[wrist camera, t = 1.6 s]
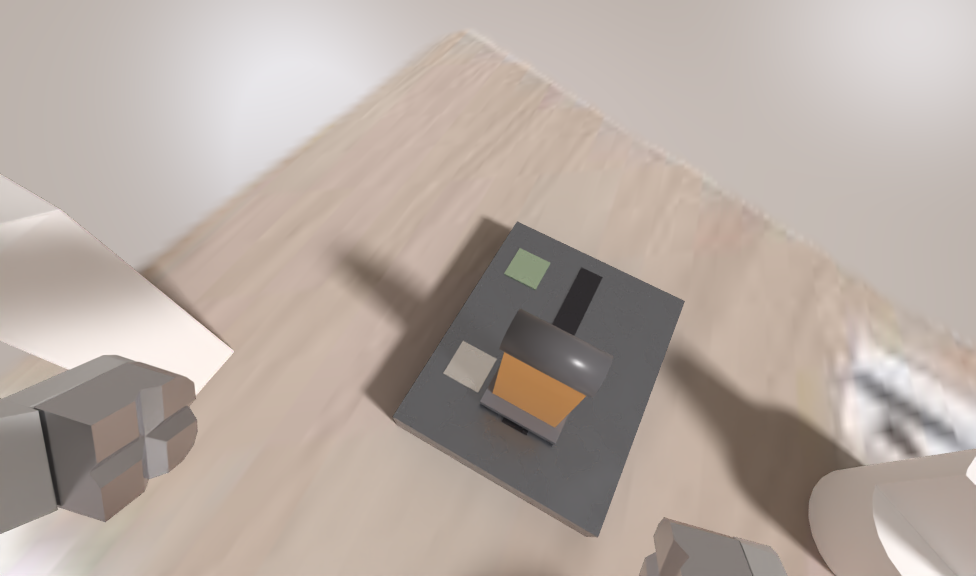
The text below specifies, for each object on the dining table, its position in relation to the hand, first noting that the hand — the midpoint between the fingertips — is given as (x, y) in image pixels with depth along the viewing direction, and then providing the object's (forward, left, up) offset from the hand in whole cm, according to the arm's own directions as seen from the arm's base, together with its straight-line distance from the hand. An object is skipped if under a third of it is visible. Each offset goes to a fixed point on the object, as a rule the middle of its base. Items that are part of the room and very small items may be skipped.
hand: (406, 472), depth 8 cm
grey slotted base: (+13, +5, -28) cm, 32 cm away
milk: (-13, +20, -29) cm, 37 cm away
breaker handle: (+9, +3, -25) cm, 27 cm away
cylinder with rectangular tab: (+26, -18, -29) cm, 43 cm away
